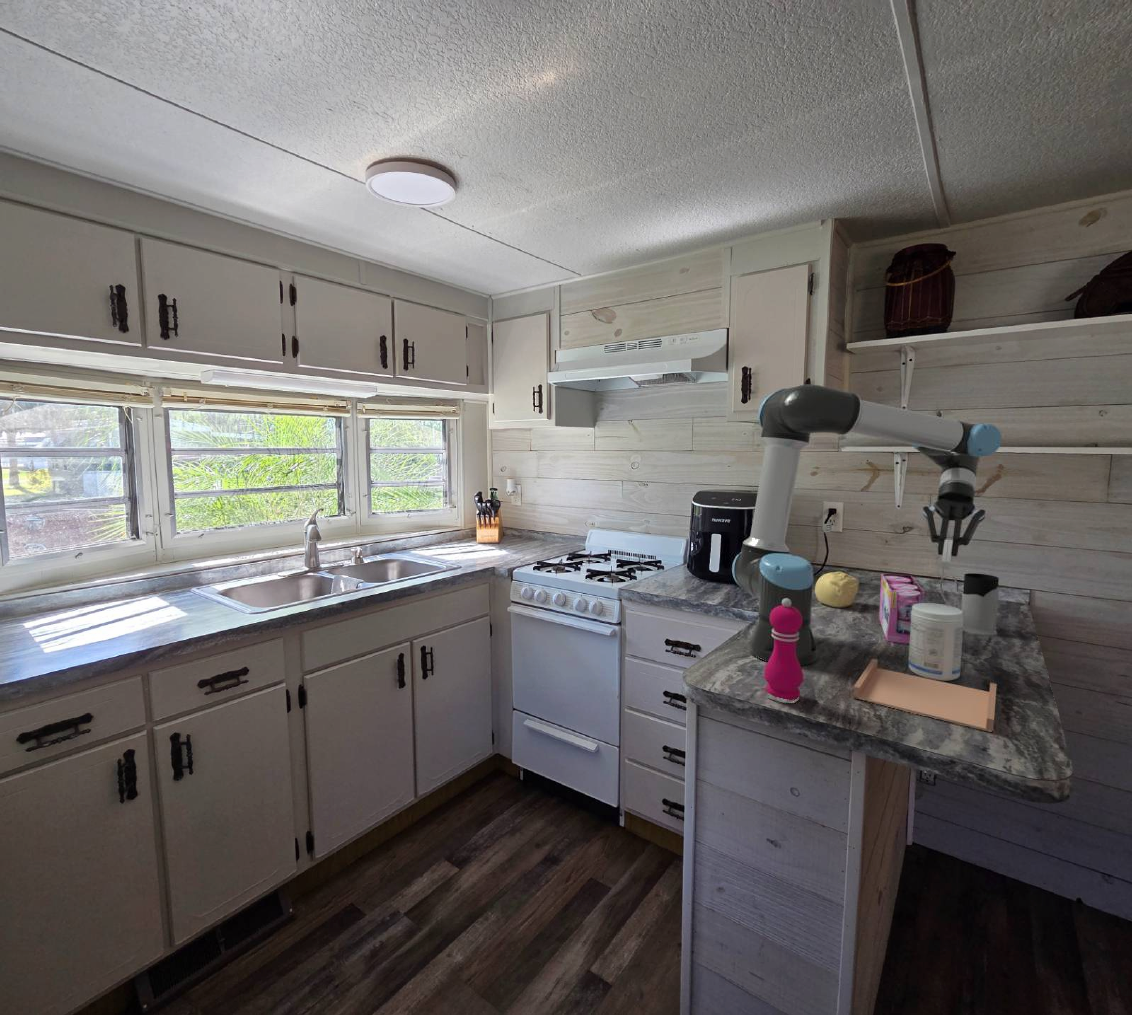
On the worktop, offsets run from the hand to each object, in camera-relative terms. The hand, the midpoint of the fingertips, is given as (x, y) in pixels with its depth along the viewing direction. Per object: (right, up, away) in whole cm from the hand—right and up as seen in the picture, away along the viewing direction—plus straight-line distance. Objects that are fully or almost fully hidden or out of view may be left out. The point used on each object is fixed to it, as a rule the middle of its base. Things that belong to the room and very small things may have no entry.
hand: (945, 565), depth 131 cm
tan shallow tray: (-18, -24, -20) cm, 36 cm away
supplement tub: (-8, -23, -8) cm, 26 cm away
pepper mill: (-46, -24, -20) cm, 56 cm away
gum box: (+2, -20, +21) cm, 29 cm away
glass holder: (+22, -20, +24) cm, 38 cm away
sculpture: (-3, -18, +47) cm, 50 cm away
